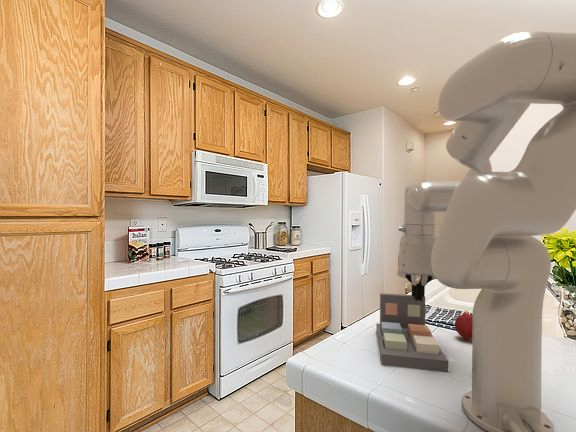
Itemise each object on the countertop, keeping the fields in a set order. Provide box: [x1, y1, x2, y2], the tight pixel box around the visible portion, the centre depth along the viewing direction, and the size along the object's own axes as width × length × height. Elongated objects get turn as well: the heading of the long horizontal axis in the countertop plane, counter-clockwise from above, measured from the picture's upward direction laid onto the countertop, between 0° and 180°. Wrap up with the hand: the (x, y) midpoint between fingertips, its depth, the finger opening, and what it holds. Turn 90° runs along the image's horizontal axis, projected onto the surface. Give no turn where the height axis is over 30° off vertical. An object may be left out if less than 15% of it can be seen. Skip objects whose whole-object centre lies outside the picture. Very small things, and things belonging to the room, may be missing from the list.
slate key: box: [381, 322, 402, 336], centre depth 81 cm, size 5×5×2 cm
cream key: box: [413, 335, 440, 354], centre depth 72 cm, size 5×5×2 cm
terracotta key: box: [408, 324, 432, 339], centre depth 80 cm, size 5×5×2 cm
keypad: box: [375, 292, 449, 373], centre depth 77 cm, size 20×14×12 cm
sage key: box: [384, 333, 407, 351], centre depth 74 cm, size 5×5×2 cm
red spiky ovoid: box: [454, 310, 473, 341], centre depth 83 cm, size 6×6×8 cm
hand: (417, 299), depth 81 cm, fingers closed
